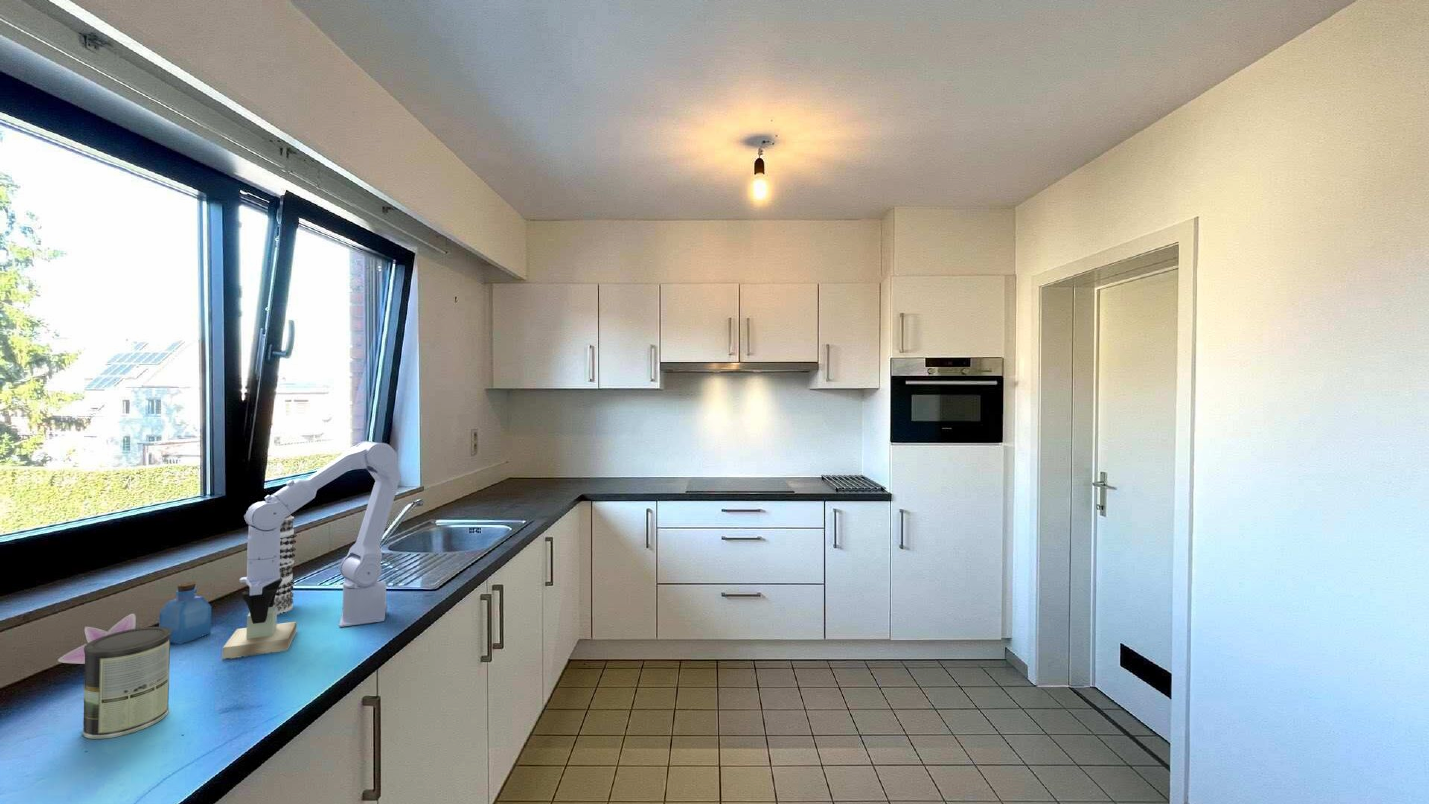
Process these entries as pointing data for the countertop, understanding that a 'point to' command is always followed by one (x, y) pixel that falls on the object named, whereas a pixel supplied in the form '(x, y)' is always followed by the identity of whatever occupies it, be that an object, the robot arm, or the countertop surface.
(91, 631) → the lily
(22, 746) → the countertop surface
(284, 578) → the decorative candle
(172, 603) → the perfume bottle
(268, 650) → the birch slab
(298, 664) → the countertop surface
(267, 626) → the sage block
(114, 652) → the coffee can
